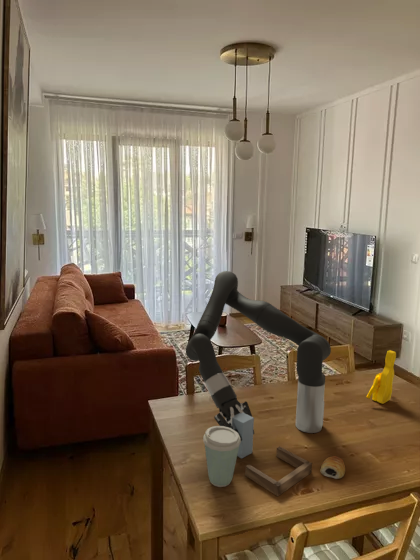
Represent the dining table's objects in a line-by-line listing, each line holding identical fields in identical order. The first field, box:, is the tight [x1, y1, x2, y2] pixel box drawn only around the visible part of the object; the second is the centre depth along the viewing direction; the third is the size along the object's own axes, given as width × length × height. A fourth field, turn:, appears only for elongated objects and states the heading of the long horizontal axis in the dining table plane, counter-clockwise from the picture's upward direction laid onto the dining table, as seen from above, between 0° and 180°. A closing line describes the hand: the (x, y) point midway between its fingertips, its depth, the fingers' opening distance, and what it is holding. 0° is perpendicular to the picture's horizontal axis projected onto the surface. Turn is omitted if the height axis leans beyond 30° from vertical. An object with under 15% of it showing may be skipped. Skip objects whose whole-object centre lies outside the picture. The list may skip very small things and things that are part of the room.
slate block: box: [232, 413, 255, 459], centre depth 135 cm, size 5×5×12 cm
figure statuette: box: [365, 349, 397, 405], centre depth 173 cm, size 18×8×22 cm, turn 131°
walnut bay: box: [244, 445, 313, 497], centre depth 125 cm, size 16×12×3 cm
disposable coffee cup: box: [202, 425, 241, 488], centre depth 120 cm, size 11×11×15 cm
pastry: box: [319, 455, 346, 480], centre depth 128 cm, size 9×7×4 cm
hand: (246, 438), depth 134 cm, fingers closed on slate block, 5 cm apart
